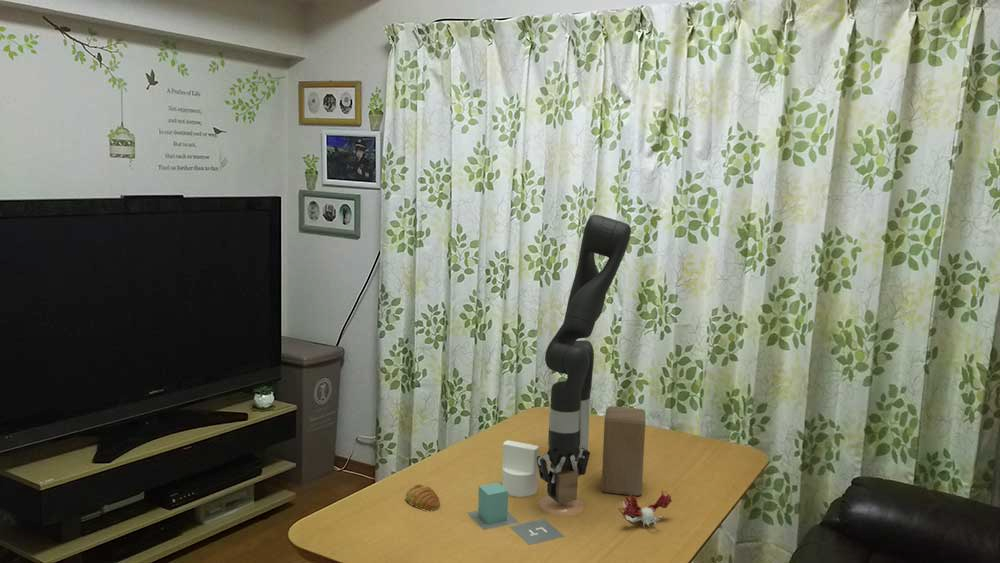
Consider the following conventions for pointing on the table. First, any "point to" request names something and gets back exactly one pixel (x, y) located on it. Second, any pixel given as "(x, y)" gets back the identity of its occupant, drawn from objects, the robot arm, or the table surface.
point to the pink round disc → (561, 506)
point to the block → (623, 450)
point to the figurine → (644, 509)
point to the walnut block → (566, 485)
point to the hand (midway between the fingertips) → (562, 493)
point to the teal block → (493, 503)
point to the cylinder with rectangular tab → (520, 468)
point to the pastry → (423, 497)
